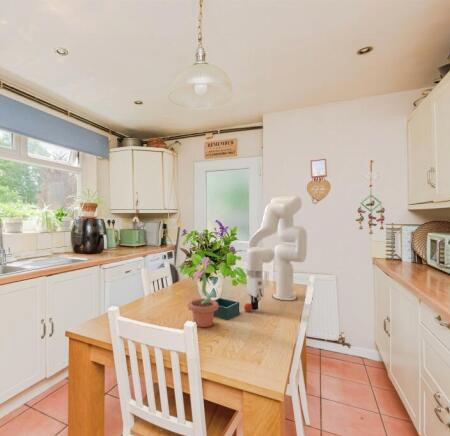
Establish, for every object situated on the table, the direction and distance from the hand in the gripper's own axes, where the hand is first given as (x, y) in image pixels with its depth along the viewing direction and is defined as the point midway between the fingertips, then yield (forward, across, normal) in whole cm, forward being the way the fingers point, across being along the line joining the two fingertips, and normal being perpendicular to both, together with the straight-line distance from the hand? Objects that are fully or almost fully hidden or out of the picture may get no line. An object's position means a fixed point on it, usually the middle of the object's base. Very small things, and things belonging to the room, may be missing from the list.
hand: (254, 309), depth 140 cm
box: (+1, 0, +17) cm, 17 cm away
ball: (+1, 0, +3) cm, 3 cm away
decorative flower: (+1, -10, +31) cm, 32 cm away
